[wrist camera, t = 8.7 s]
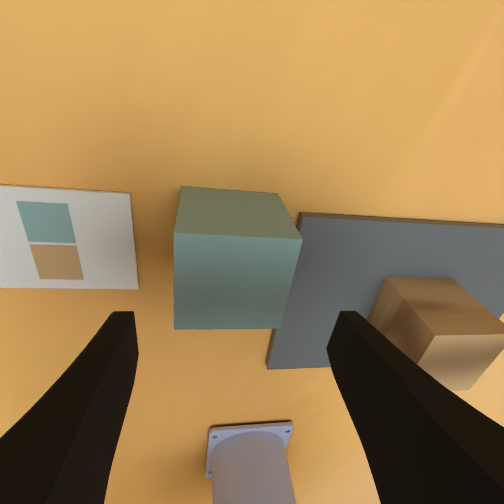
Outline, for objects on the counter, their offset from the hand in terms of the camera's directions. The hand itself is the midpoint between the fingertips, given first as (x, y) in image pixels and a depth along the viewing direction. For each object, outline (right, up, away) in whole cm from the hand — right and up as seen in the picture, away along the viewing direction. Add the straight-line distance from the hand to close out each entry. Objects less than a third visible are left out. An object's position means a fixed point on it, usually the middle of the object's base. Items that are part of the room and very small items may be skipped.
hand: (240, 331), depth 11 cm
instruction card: (-10, +3, +5) cm, 12 cm away
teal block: (-1, +4, +6) cm, 8 cm away
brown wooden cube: (+11, -1, +11) cm, 15 cm away
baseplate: (+11, -1, +11) cm, 16 cm away
